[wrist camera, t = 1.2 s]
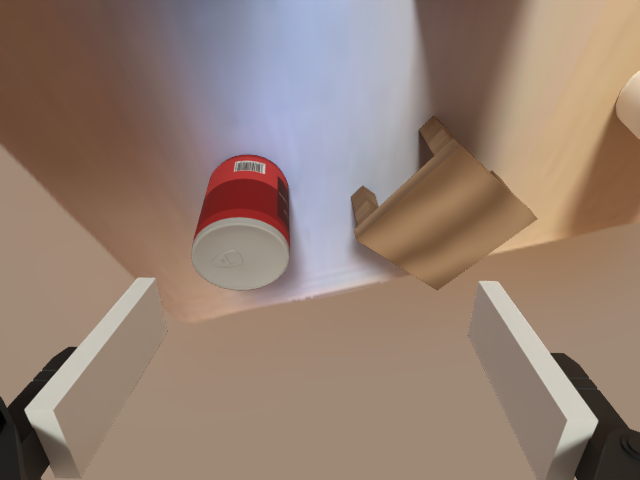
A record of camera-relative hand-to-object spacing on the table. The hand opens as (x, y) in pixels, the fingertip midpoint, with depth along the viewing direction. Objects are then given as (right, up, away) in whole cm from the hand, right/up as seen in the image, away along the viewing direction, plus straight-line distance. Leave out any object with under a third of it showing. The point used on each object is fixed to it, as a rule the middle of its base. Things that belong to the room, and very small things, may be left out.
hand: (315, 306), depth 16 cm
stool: (+12, +8, +26) cm, 29 cm away
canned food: (-7, +8, +24) cm, 26 cm away
